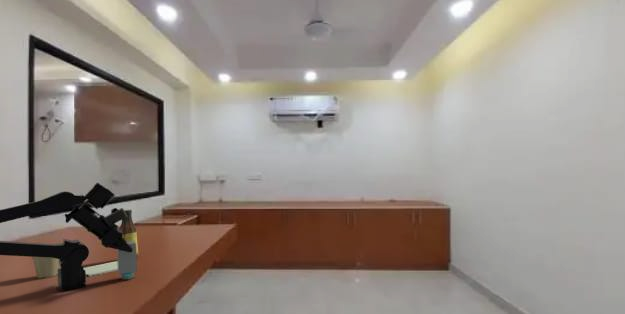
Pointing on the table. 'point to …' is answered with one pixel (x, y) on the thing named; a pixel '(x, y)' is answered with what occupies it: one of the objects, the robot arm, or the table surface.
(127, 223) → the sauce bottle
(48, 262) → the flower pot
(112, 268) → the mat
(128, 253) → the grey rectangular block
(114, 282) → the table surface
